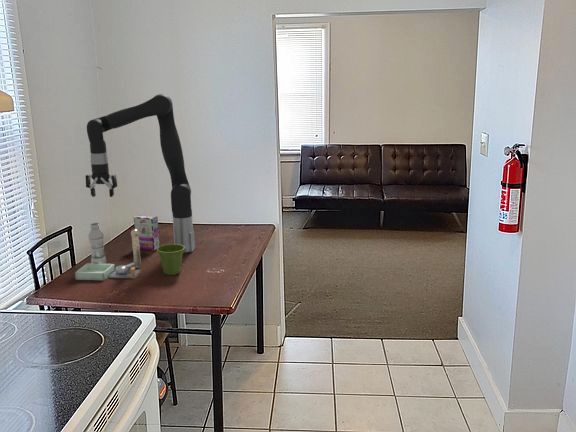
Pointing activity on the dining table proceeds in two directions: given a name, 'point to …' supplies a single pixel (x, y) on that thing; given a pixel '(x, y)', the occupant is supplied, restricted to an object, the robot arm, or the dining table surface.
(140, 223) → the candy bar box
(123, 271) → the beige silver l-shaped piece
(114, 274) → the base
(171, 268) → the plant pot
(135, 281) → the dining table surface
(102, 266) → the tray
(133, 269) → the stop block
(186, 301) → the dining table surface
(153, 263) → the dining table surface
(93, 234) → the plastic bottle
